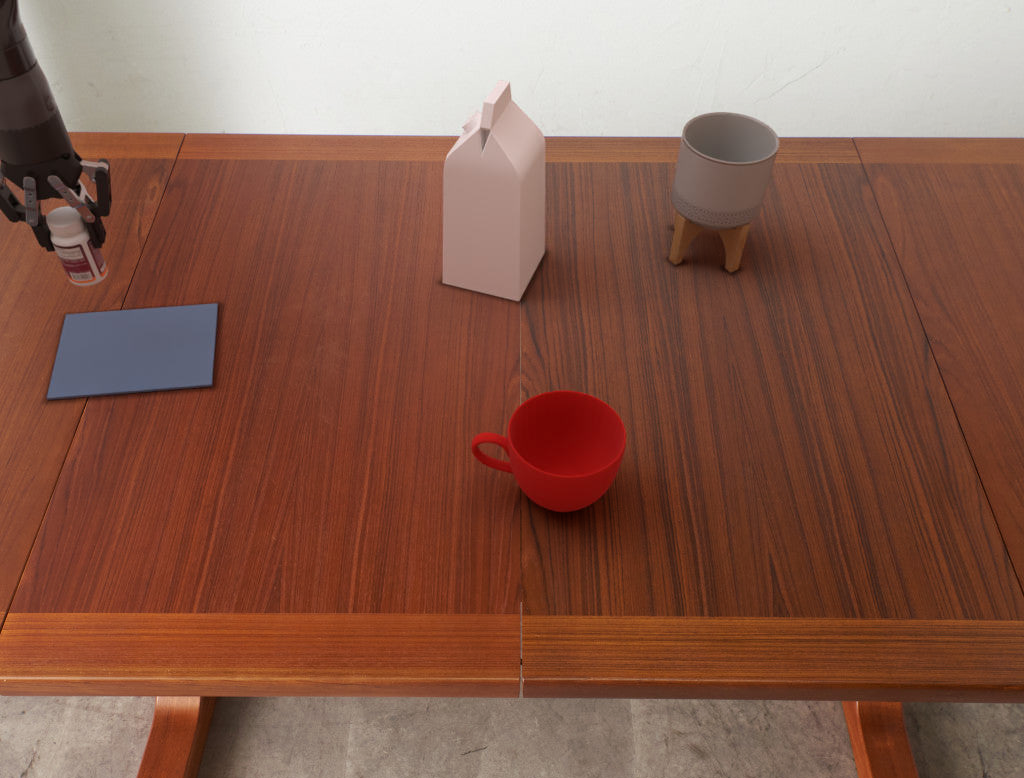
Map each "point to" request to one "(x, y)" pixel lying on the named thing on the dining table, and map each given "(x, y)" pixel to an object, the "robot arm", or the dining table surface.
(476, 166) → the milk
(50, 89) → the robot arm
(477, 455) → the ceramic cup
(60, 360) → the cloth
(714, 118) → the planter
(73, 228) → the pill bottle
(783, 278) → the dining table surface
